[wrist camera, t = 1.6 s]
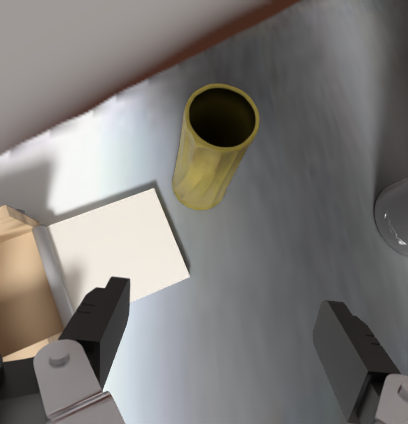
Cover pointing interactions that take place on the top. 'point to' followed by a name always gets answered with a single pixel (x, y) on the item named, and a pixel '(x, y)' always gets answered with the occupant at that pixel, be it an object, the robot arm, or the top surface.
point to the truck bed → (23, 290)
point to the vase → (212, 143)
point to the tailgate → (110, 251)
